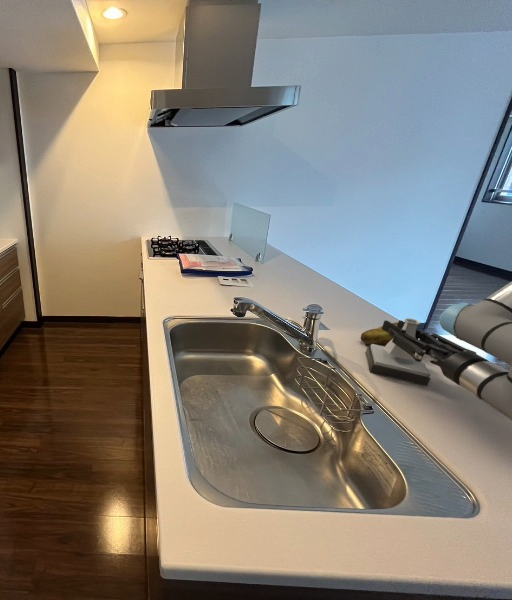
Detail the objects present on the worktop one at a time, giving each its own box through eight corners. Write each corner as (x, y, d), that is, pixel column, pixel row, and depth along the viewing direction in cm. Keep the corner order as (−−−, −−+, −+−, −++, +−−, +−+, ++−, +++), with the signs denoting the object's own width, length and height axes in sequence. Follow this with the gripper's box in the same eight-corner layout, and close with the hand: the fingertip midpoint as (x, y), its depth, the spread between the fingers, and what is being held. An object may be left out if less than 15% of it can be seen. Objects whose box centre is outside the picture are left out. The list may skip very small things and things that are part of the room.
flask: (413, 350, 90) (426, 318, 86) (420, 362, 84) (434, 329, 80) (381, 343, 93) (392, 312, 89) (385, 355, 87) (397, 323, 83)
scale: (419, 364, 92) (423, 353, 91) (430, 387, 83) (435, 376, 81) (365, 352, 98) (368, 342, 97) (369, 372, 89) (373, 361, 87)
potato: (355, 334, 108) (362, 313, 105) (404, 343, 102) (413, 321, 99) (359, 346, 101) (367, 323, 98) (412, 356, 96) (421, 333, 93)
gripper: (430, 387, 71) (358, 336, 93) (505, 388, 71) (416, 336, 92) (443, 359, 68) (366, 312, 90) (522, 359, 68) (425, 312, 89)
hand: (391, 324), depth 91 cm, fingers closed on flask, 3 cm apart
